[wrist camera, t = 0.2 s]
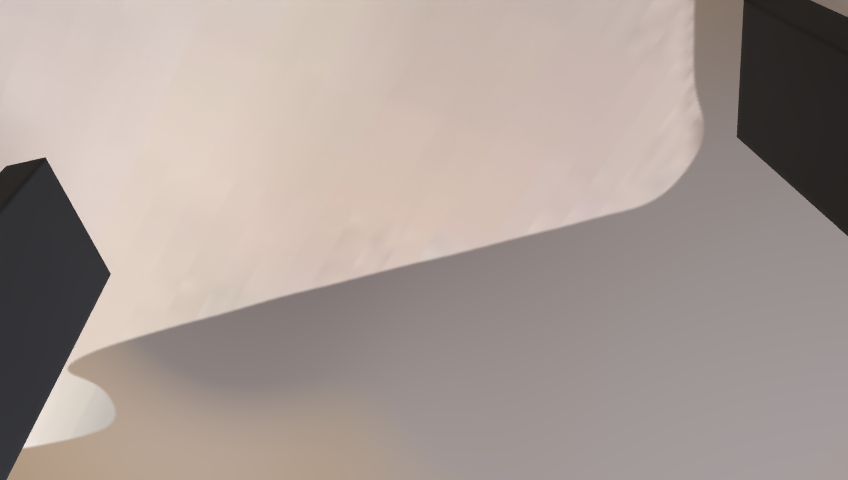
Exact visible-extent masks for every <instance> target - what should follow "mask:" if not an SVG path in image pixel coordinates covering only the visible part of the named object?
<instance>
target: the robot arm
mask: <svg viewBox="0 0 848 480" xmlns="http://www.w3.org/2000/svg"><path fill="white" fill-rule="evenodd" d="M738 108H739V109H738V126H737V137H738V138H739V139H740V140H741V141H742V142H743V143H744V144H745V145H747V146H748V147H749V148H750V149H751V150H752V151H753V152H755V153H756V154H757V155H758V156H759V157H760V158H761V159H762V160H763V161H764V162H766V163H767V164H768V165H769V166H770V167H771V168H772V169H774V170H775V171H776V172H777V173H778V174H779V175H780V176H781V177H782V178H784V179H785V180H786V181H787V182H788V183H789V184H790V185H791V186H792V187H794V188H795V189H796V190H797V191H798V192H799V193H800V194H801V195H803V196H804V197H805V198H806V199H807V200H808V201H809V202H810V203H811V204H813V205H814V206H815V207H816V208H817V209H818V210H819V211H820V212H822V213H823V214H824V215H825V216H826V217H827V218H828V219H829V220H830V221H832V222H833V223H834V224H835V225H836V226H837V227H838V228H839V229H841V230H842V231H843V232H844V233H845V234H846V235H847V236H848V17H846V16H844V15H842V14H839V13H837V12H835V11H833V10H830V9H828V8H826V7H824V6H822V5H819V4H817V3H815V2H813V1H811V0H744V9H743V28H742V48H741V67H740V88H739V107H738ZM109 276H110V272H109V270H108V268H107V267H106V265H105V263H104V261H103V259H102V258H101V256H100V254H99V252H98V250H97V249H96V247H95V245H94V243H93V242H92V240H91V238H90V236H89V234H88V233H87V231H86V229H85V227H84V225H83V224H82V222H81V220H80V218H79V217H78V215H77V213H76V211H75V209H74V208H73V206H72V204H71V202H70V200H69V199H68V197H67V195H66V193H65V192H64V190H63V188H62V186H61V184H60V183H59V181H58V179H57V177H56V175H55V174H54V172H53V170H52V168H51V167H50V165H49V163H48V161H47V159H46V158H41V159H36V160H32V161H27V162H23V163H19V164H14V165H10V166H6V167H5V168H4V169H3V170H2V171H1V172H0V480H6V479H7V477H8V476H9V473H10V471H11V469H12V468H13V466H14V464H15V462H16V460H17V458H18V456H19V454H20V452H21V450H22V448H23V446H24V444H25V442H26V440H27V438H28V436H29V434H30V432H31V430H32V428H33V426H34V424H35V422H36V420H37V418H38V416H39V414H40V412H41V410H42V409H43V407H44V405H45V403H46V401H47V399H48V397H49V395H50V393H51V391H52V389H53V387H54V385H55V383H56V381H57V379H58V377H59V375H60V373H61V371H62V369H63V367H64V365H65V363H66V361H67V359H68V357H69V355H70V353H71V351H72V349H73V347H74V345H75V343H76V341H77V340H78V338H79V336H80V334H81V332H82V330H83V328H84V326H85V324H86V322H87V320H88V318H89V316H90V314H91V312H92V310H93V308H94V306H95V304H96V302H97V300H98V298H99V296H100V294H101V292H102V290H103V288H104V286H105V284H106V282H107V280H108V278H109Z"/></svg>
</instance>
